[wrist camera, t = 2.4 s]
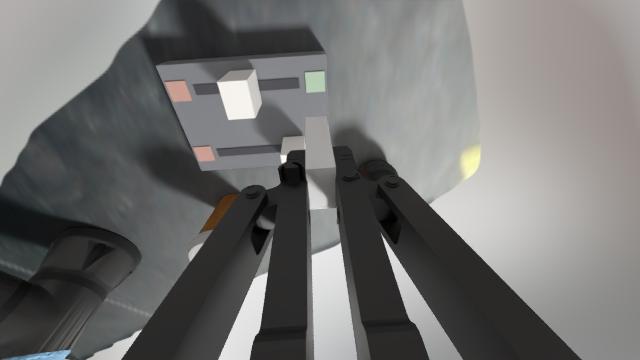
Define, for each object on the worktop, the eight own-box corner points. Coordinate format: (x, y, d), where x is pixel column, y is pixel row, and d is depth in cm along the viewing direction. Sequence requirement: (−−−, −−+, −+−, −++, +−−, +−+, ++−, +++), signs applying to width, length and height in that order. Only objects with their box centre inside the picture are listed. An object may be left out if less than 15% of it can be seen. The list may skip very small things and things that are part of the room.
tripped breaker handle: (238, 104, 30) (228, 119, 26) (229, 70, 27) (216, 82, 23) (262, 103, 30) (255, 118, 26) (255, 69, 27) (246, 80, 23)
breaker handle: (287, 161, 35) (284, 180, 31) (283, 137, 33) (280, 155, 29) (306, 159, 35) (307, 179, 31) (304, 135, 33) (304, 153, 29)
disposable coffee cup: (200, 194, 43) (170, 248, 33) (247, 180, 41) (230, 233, 32) (227, 227, 48) (208, 281, 39) (270, 216, 47) (261, 269, 37)
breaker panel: (208, 160, 38) (201, 171, 36) (167, 60, 29) (154, 65, 27) (328, 152, 39) (329, 162, 36) (324, 50, 30) (326, 54, 27)
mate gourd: (344, 175, 42) (353, 214, 34) (374, 145, 38) (392, 180, 30) (371, 193, 45) (387, 233, 37) (402, 166, 41) (425, 204, 33)
